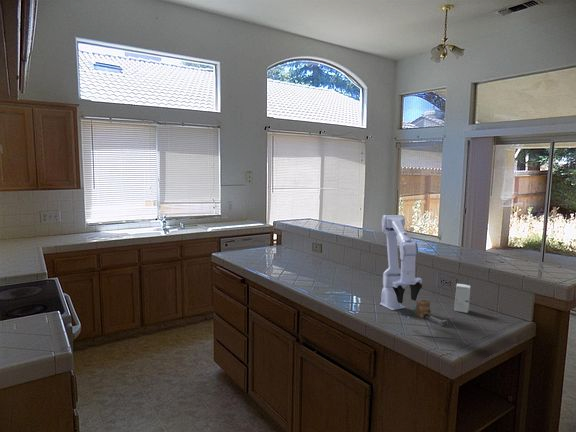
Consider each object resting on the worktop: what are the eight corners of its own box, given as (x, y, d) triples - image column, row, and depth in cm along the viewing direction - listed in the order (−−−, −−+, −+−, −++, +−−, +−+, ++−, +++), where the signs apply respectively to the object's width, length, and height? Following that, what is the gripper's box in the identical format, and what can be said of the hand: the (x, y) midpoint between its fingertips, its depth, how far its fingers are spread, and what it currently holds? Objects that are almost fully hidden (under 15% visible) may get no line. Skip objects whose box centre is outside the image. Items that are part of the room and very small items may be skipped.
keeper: (415, 314, 174) (415, 301, 173) (423, 312, 176) (424, 299, 175) (421, 317, 170) (422, 304, 170) (430, 315, 173) (430, 302, 172)
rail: (414, 313, 176) (414, 305, 175) (419, 312, 177) (419, 304, 177) (442, 326, 162) (442, 317, 161) (447, 325, 163) (447, 316, 163)
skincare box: (454, 311, 179) (455, 285, 178) (455, 307, 183) (456, 283, 181) (468, 313, 176) (470, 287, 175) (469, 310, 180) (470, 285, 178)
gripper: (401, 274, 156) (400, 306, 158) (427, 270, 163) (426, 301, 164) (389, 270, 163) (388, 301, 164) (415, 266, 169) (414, 296, 171)
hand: (406, 301), depth 165 cm, fingers open, 7 cm apart
